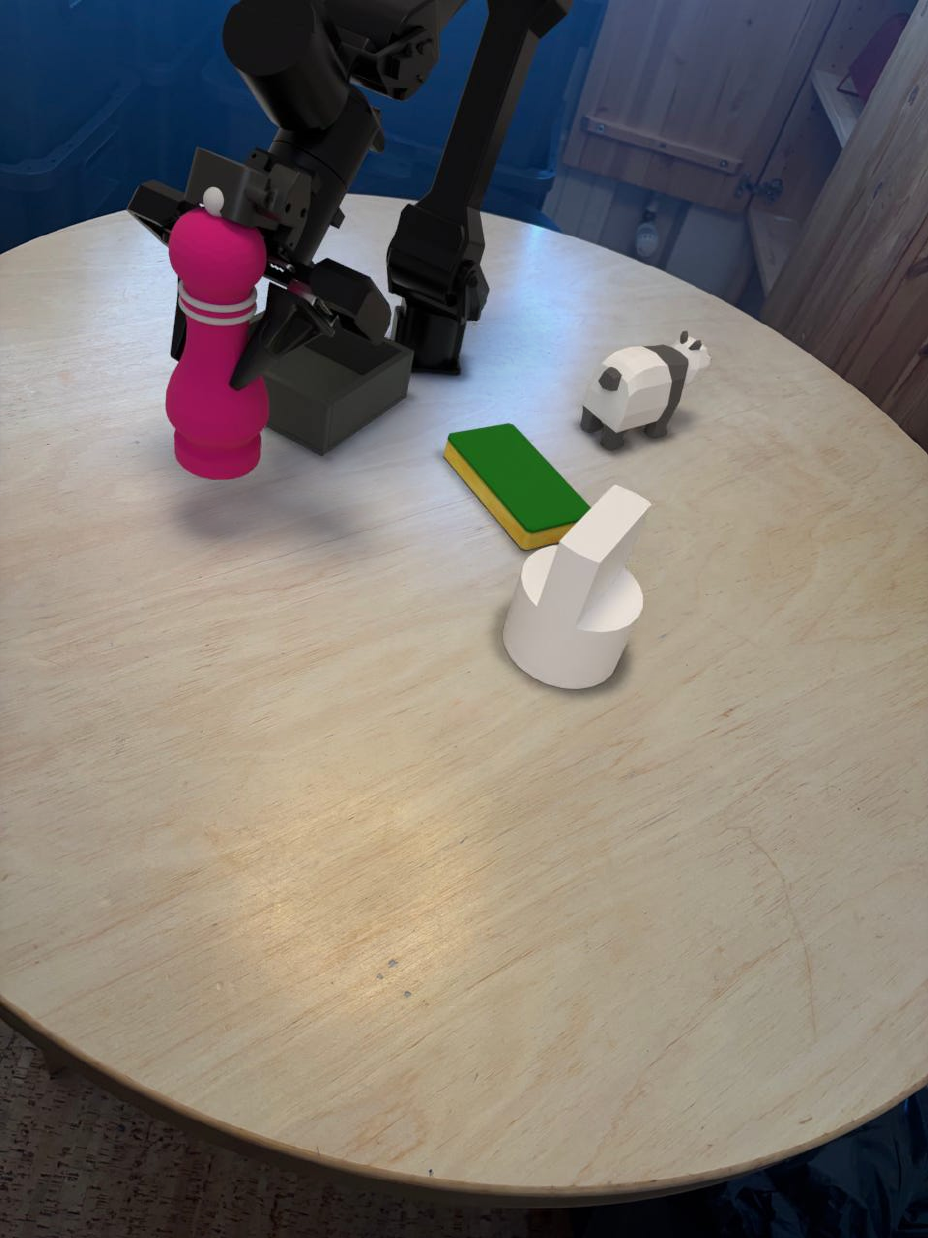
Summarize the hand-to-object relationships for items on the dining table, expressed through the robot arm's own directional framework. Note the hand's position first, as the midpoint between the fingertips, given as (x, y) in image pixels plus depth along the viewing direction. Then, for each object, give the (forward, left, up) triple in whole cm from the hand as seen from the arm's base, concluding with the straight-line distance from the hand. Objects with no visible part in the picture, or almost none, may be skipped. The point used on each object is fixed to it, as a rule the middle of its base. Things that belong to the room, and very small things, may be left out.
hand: (204, 373), depth 65 cm
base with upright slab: (-26, +13, -13) cm, 32 cm away
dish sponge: (-26, -5, -13) cm, 30 cm away
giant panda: (-41, -17, -13) cm, 47 cm away
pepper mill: (-1, -1, -8) cm, 8 cm away
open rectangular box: (-9, -19, -13) cm, 24 cm away
